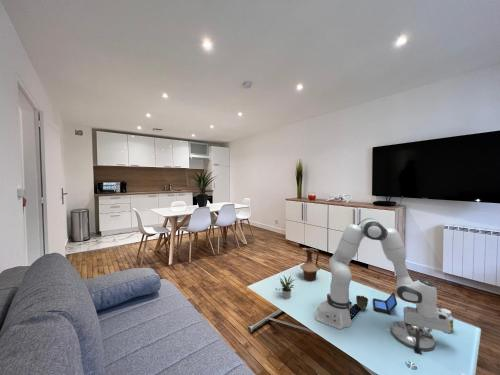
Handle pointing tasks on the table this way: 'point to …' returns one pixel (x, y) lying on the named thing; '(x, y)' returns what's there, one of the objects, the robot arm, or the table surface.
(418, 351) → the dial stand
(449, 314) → the pill bottle
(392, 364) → the table surface
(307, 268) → the pitcher
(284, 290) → the house plant
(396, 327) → the turntable
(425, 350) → the turntable base
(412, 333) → the cover
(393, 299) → the handheld game console
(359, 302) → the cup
